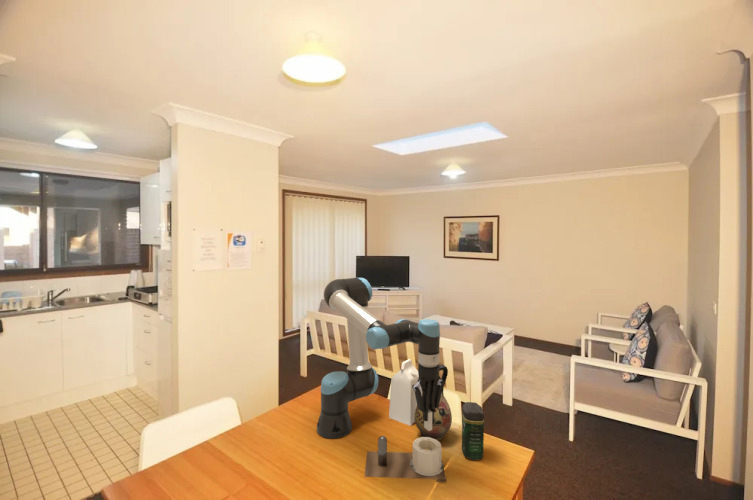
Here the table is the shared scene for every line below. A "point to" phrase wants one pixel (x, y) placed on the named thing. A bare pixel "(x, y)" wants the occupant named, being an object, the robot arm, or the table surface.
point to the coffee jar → (472, 431)
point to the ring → (427, 455)
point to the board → (395, 467)
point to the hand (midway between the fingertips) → (428, 428)
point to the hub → (424, 473)
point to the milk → (404, 394)
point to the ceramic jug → (436, 415)
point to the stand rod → (382, 451)
